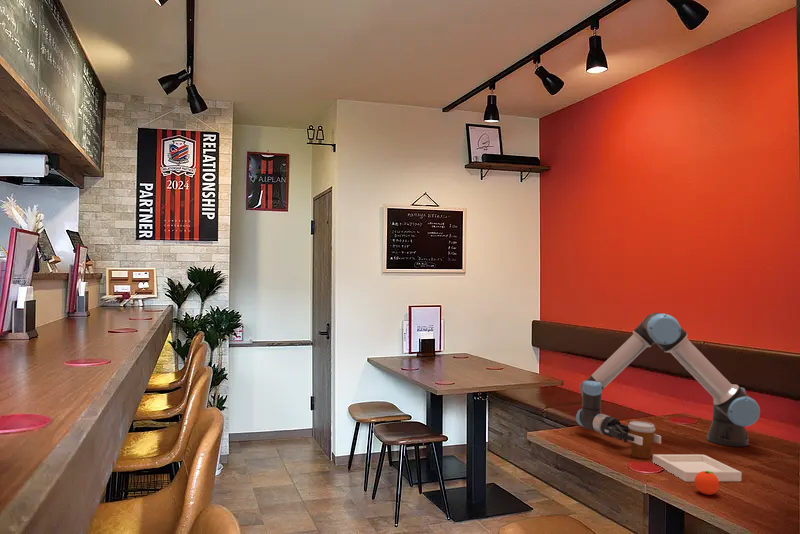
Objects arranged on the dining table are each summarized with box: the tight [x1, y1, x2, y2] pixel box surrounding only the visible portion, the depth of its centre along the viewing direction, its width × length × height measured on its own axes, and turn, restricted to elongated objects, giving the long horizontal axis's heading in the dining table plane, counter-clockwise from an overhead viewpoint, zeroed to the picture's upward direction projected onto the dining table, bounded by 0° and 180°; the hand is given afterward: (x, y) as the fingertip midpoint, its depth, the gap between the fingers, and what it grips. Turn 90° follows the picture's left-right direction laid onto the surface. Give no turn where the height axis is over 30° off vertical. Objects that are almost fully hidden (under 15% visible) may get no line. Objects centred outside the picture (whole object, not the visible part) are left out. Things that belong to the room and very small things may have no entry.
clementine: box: [694, 471, 720, 496], centre depth 194 cm, size 8×7×7 cm
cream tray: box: [651, 454, 742, 483], centre depth 216 cm, size 20×20×3 cm
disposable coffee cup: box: [627, 420, 657, 459], centre depth 232 cm, size 10×10×12 cm
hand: (651, 440), depth 228 cm, fingers closed on disposable coffee cup, 8 cm apart
